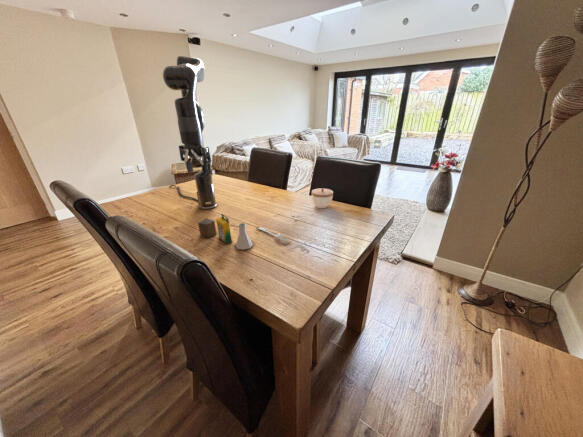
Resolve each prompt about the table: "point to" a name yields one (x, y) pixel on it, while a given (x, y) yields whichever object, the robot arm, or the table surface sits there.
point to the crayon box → (224, 229)
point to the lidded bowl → (322, 197)
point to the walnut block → (207, 228)
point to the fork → (274, 234)
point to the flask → (243, 238)
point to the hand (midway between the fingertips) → (198, 173)
